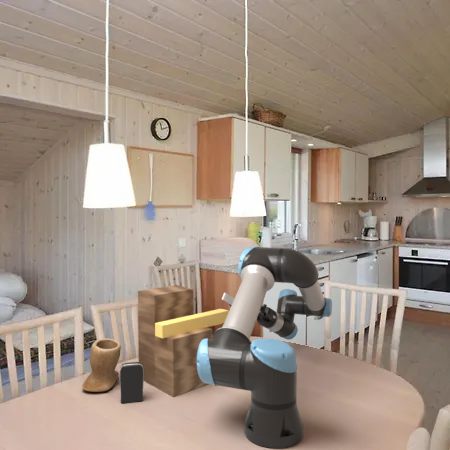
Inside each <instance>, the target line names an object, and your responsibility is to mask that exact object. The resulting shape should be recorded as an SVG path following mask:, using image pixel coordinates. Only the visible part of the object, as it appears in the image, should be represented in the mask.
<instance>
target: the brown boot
mask: <svg viewBox="0 0 450 450" xmlns="http://www.w3.org/2000/svg"><path fill="white" fill-rule="evenodd" d="M121 349H122V345H121V344H120V342H119V341H117V340H115V339H112V338H107V337H106V338H100V339H97V340H95V341H94V342H93V343H92V345H91V348H90V354H89V362H90V363H89V364H90V367H91V372H90V373H89V375H87V377H86V379H85V380H84V381H83V384H82V385H81V386H82V387H81V388H82V389H83V391H86V392H93V393H96V392H97V393H99V392H100V393H101V392H106V391H109V390H111V389H112V387H113V386H114V384H115V383H116V381H117V379H118V377H119V376H120V372H118V371H117V370H116V367H117V365H118V362H119V360H120V357H121Z"/></svg>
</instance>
